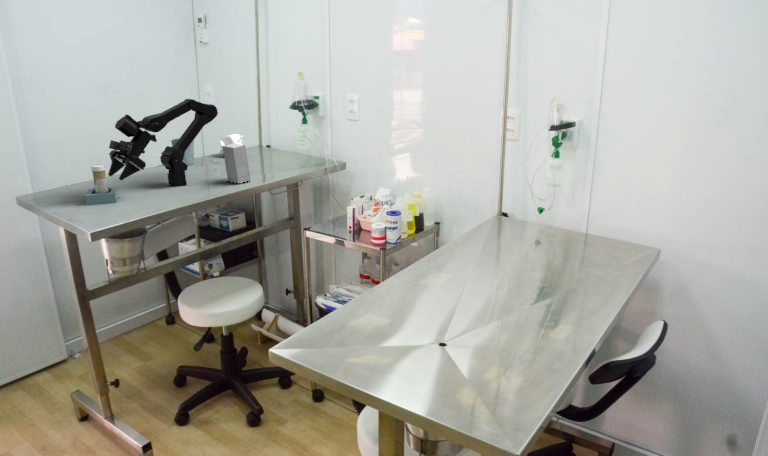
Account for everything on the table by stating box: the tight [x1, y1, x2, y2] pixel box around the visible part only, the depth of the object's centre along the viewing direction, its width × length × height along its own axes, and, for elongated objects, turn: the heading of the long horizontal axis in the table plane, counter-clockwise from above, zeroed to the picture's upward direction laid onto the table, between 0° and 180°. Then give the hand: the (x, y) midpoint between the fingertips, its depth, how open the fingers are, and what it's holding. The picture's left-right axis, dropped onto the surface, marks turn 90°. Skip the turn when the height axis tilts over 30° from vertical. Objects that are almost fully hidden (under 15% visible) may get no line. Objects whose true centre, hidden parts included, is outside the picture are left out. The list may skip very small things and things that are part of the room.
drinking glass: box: [170, 137, 195, 167], centre depth 265 cm, size 10×10×12 cm
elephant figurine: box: [219, 133, 244, 156], centre depth 280 cm, size 12×18×12 cm
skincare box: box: [222, 144, 252, 185], centre depth 232 cm, size 8×7×16 cm
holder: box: [84, 186, 120, 206], centre depth 208 cm, size 10×10×4 cm
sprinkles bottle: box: [90, 163, 109, 194], centre depth 207 cm, size 5×5×14 cm
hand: (114, 177), depth 210 cm, fingers open, 9 cm apart
